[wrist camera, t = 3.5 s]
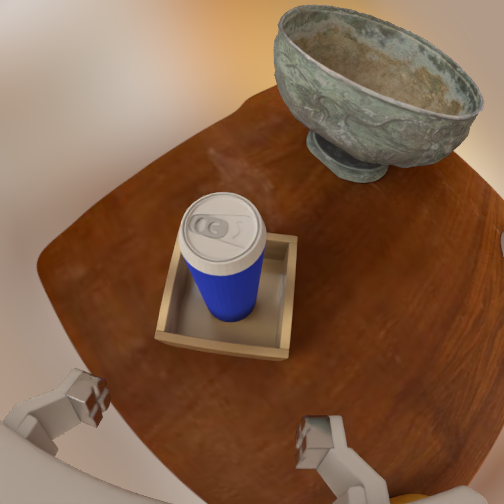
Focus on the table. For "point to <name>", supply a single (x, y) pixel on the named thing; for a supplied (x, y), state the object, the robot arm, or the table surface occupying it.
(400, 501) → the fruit
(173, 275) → the wooden tray
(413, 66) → the decorative bowl
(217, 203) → the beverage can
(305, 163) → the table surface
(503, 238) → the lantern
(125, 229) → the table surface
